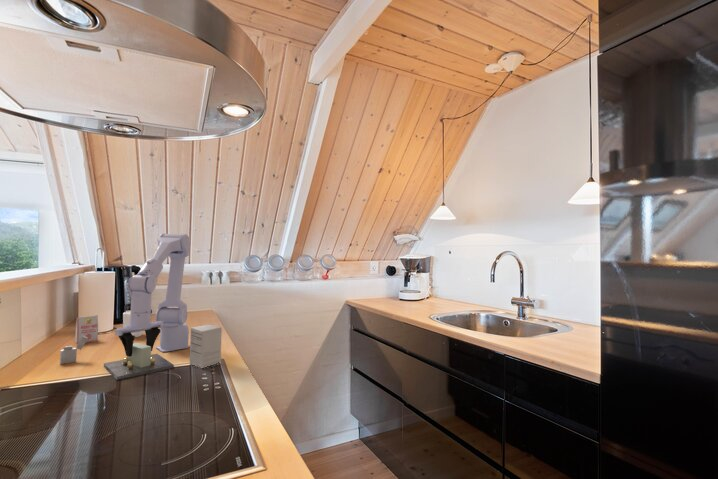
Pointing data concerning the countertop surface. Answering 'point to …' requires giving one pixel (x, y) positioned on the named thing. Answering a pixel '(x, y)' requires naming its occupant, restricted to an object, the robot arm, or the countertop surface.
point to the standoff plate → (136, 367)
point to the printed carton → (87, 328)
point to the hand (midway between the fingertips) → (139, 353)
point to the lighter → (71, 352)
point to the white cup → (127, 322)
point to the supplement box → (205, 345)
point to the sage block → (140, 355)
